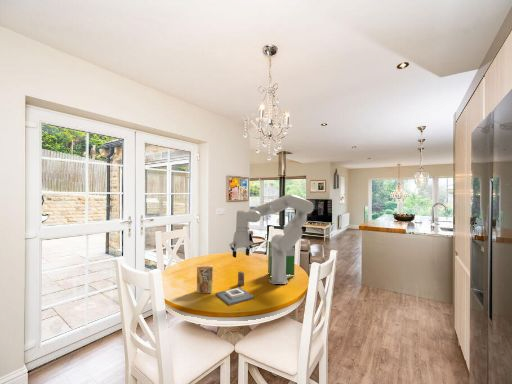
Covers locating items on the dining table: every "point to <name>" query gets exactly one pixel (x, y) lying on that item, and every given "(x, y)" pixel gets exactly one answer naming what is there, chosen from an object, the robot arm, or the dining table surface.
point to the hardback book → (289, 260)
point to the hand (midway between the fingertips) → (241, 256)
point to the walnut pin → (240, 278)
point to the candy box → (204, 278)
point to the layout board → (234, 296)
